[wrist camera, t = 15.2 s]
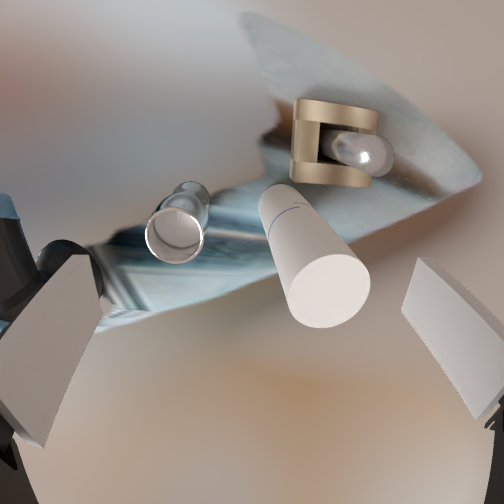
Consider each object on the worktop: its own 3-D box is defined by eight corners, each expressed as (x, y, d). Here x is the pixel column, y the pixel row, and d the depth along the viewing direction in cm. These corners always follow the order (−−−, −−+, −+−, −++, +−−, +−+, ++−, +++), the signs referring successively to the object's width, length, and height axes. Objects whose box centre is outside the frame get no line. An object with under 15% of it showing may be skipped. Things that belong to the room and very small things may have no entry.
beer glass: (201, 228, 46) (190, 275, 32) (162, 210, 44) (134, 250, 31) (220, 190, 44) (216, 222, 30) (179, 170, 42) (156, 194, 28)
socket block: (289, 177, 43) (294, 182, 40) (293, 100, 38) (300, 98, 35) (359, 182, 44) (369, 188, 41) (366, 111, 39) (378, 111, 36)
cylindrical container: (252, 191, 44) (278, 269, 21) (297, 178, 44) (367, 243, 21) (264, 232, 47) (296, 337, 25) (306, 220, 47) (371, 313, 24)
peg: (316, 127, 40) (361, 133, 26) (343, 130, 41) (396, 139, 26) (314, 155, 42) (356, 174, 28) (341, 157, 43) (391, 178, 28)
